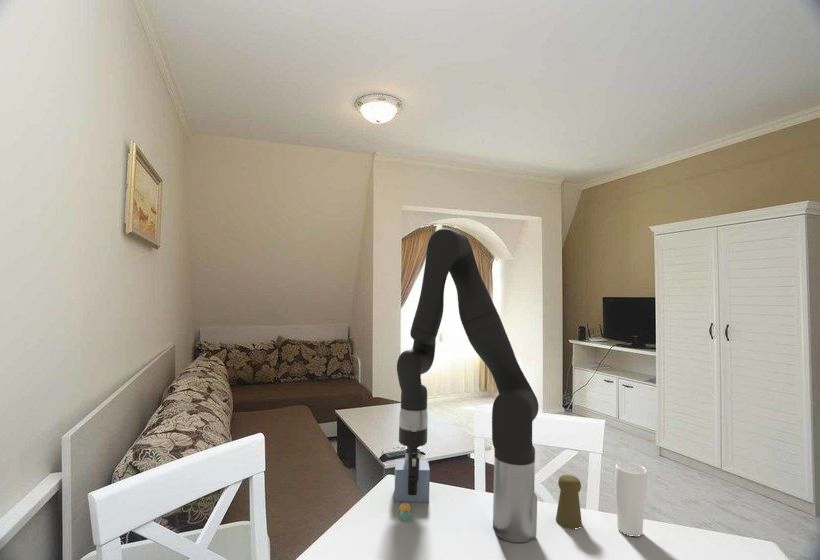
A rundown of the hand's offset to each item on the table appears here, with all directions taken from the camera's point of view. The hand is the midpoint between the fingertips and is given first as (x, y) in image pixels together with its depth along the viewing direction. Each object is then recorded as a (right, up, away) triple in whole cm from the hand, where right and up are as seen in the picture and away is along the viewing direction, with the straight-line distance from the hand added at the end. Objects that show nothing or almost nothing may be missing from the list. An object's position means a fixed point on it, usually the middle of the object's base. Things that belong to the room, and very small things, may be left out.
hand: (411, 487), depth 113 cm
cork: (+38, -5, -8) cm, 39 cm away
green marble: (-2, -2, -11) cm, 11 cm away
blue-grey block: (0, -2, 0) cm, 2 cm away
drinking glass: (+51, -5, -12) cm, 53 cm away
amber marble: (-2, -2, -7) cm, 8 cm away
